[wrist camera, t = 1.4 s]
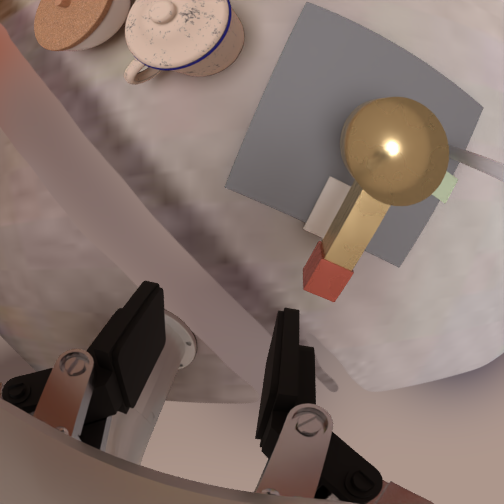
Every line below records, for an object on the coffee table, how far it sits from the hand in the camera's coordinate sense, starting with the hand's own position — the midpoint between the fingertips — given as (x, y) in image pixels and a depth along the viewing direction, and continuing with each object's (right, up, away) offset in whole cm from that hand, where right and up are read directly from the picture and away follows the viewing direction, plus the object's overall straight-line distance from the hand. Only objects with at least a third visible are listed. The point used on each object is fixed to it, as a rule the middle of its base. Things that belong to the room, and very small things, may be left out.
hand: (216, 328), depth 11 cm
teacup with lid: (-5, +24, +15) cm, 29 cm away
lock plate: (+13, +15, +17) cm, 26 cm away
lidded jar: (-16, +31, +14) cm, 37 cm away
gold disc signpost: (+10, +8, +12) cm, 17 cm away
